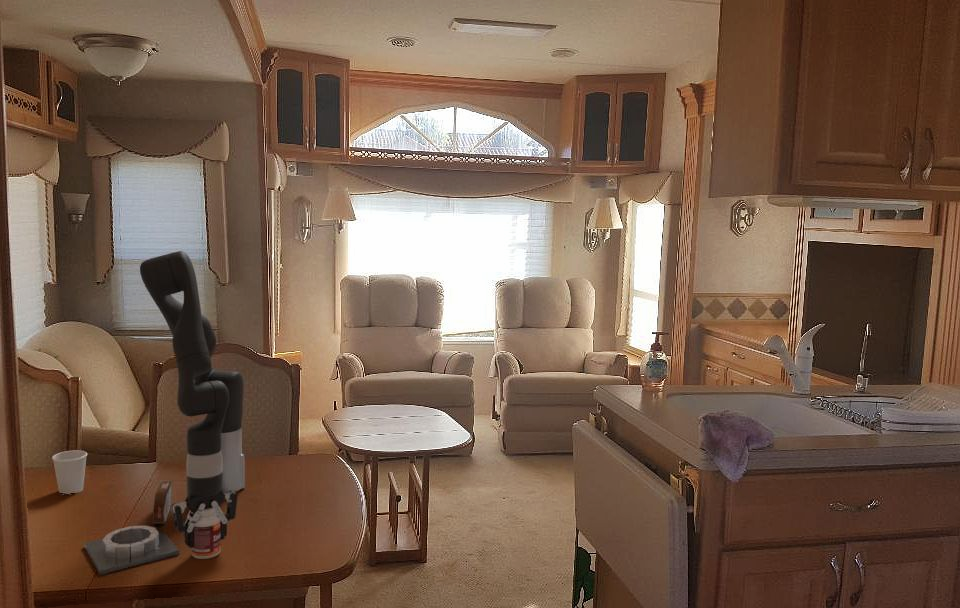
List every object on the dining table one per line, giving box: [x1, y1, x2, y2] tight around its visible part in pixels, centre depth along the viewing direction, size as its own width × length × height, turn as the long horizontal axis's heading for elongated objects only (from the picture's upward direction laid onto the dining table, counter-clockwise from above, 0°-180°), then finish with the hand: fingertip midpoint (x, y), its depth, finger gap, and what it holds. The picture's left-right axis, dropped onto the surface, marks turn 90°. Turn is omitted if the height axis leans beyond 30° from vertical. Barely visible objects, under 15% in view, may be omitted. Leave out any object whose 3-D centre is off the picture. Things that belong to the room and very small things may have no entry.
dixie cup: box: [51, 449, 88, 495], centre depth 196 cm, size 8×8×10 cm
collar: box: [83, 525, 180, 576], centre depth 163 cm, size 16×16×4 cm
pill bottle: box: [190, 507, 222, 560], centre depth 162 cm, size 6×6×11 cm
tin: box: [152, 479, 173, 525], centre depth 181 cm, size 15×3×8 cm, turn 16°
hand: (206, 542), depth 162 cm, fingers closed on pill bottle, 6 cm apart
